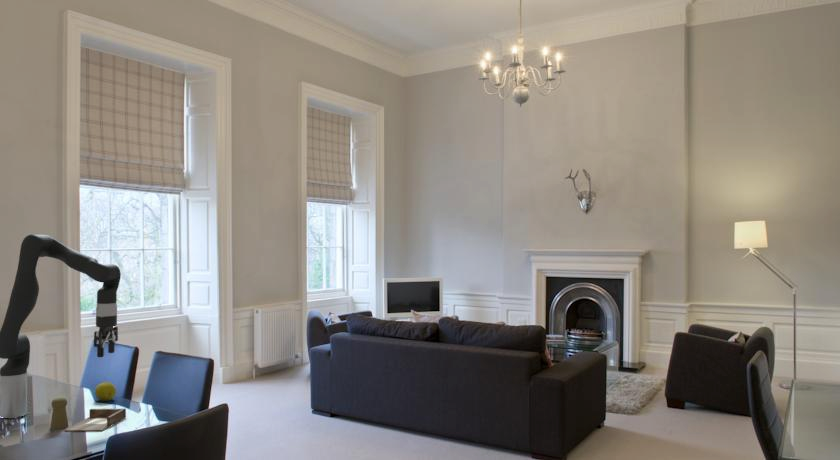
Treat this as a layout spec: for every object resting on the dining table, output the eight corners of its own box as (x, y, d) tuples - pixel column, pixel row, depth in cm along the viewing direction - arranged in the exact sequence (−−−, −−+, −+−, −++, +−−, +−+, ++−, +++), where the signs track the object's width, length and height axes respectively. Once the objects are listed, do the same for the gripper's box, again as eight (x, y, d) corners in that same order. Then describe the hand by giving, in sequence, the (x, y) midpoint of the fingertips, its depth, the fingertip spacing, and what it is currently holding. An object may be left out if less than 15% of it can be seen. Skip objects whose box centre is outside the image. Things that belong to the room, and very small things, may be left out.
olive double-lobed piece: (60, 430, 231) (60, 401, 231) (46, 429, 232) (46, 400, 232) (72, 425, 237) (72, 396, 237) (58, 424, 238) (58, 396, 238)
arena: (64, 431, 229) (64, 422, 230) (91, 417, 247) (91, 408, 247) (101, 431, 229) (101, 422, 229) (125, 417, 247) (125, 408, 247)
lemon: (119, 400, 273) (119, 382, 273) (100, 404, 267) (100, 385, 267) (110, 396, 280) (110, 379, 280) (91, 399, 275) (91, 381, 275)
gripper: (106, 312, 253) (105, 351, 253) (87, 316, 239) (86, 358, 239) (124, 312, 253) (123, 351, 253) (106, 316, 239) (106, 358, 239)
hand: (105, 354), depth 246 cm, fingers open, 8 cm apart
